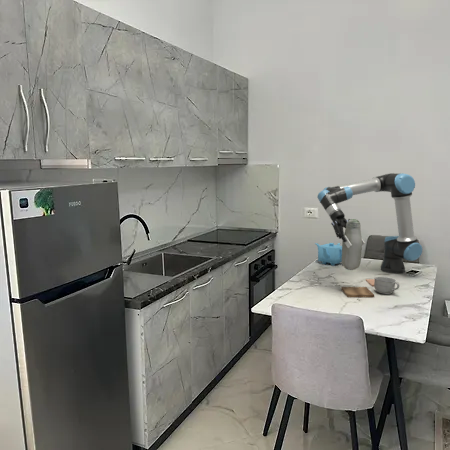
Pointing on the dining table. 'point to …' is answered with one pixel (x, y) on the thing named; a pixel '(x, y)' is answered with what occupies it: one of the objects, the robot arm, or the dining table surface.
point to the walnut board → (357, 292)
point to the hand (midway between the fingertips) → (356, 245)
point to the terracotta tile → (371, 281)
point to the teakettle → (330, 253)
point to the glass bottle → (353, 253)
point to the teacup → (385, 285)
